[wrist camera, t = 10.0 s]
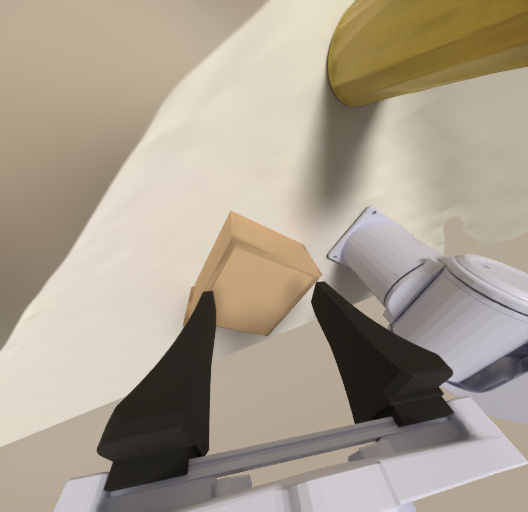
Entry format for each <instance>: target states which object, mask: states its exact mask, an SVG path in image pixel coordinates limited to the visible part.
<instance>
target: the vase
mask: <svg viewBox="0 0 528 512" xmlns="http://www.w3.org/2000/svg"><path fill="white" fill-rule="evenodd" d="M524 67H528V0H356V1H355V2H354V3H353V4H352V5H351V6H350V7H349V8H348V9H347V11H346V12H345V13H344V15H343V16H342V18H341V20H340V22H339V23H338V25H337V28H336V30H335V33H334V35H333V39H332V42H331V46H330V51H329V58H328V73H329V80H330V84H331V87H332V90H333V91H334V93H335V95H336V96H337V97H338V99H339V100H340V101H341V102H343V103H344V104H346V105H348V106H352V107H359V106H363V105H366V104H368V103H371V102H374V101H380V100H384V99H388V98H392V97H396V96H400V95H404V94H409V93H414V92H419V91H423V90H426V89H430V88H434V87H438V86H442V85H446V84H450V83H454V82H458V81H463V80H467V79H472V78H476V77H480V76H484V75H488V74H493V73H498V72H503V71H508V70H513V69H518V68H524Z"/></svg>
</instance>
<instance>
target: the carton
mask: <svg viewBox="0 0 528 512" xmlns="http://www.w3.org/2000/svg"><path fill="white" fill-rule="evenodd" d="M321 276H322V274H321V272H320V271H319V269H318V267H317V266H316V264H315V263H314V261H313V259H312V258H311V256H310V255H309V253H308V252H307V250H306V248H305V247H304V245H303V244H301V243H299V242H297V241H294V240H292V239H290V238H288V237H286V236H284V235H282V234H279V233H277V232H275V231H273V230H271V229H269V228H267V227H264V226H262V225H260V224H258V223H256V222H254V221H252V220H249V219H247V218H245V217H243V216H241V215H239V214H237V213H234V212H232V211H230V213H229V215H228V218H227V220H226V222H225V224H224V226H223V228H222V230H221V232H220V234H219V236H218V238H217V240H216V242H215V244H214V246H213V248H212V250H211V252H210V254H209V256H208V258H207V260H206V262H205V265H204V267H203V269H202V271H201V273H200V275H199V277H198V279H197V281H196V284H195V289H194V294H193V298H192V303H191V308H190V313H189V318H190V317H191V315H192V313H193V311H194V309H195V307H196V305H197V303H198V301H199V299H200V297H201V294H202V293H203V292H204V291H213V293H214V299H215V305H216V326H218V327H223V328H228V329H233V330H238V331H244V332H249V333H254V334H259V335H264V336H268V335H269V334H270V333H271V332H272V331H273V330H274V328H275V327H276V326H277V325H278V324H279V323H280V322H281V321H282V320H283V318H284V317H285V316H286V315H287V314H288V313H289V312H290V311H291V309H292V308H293V307H294V306H295V305H296V304H297V303H298V302H299V300H300V299H301V298H302V297H303V296H304V295H305V294H306V293H307V291H308V290H309V289H310V288H311V287H312V286H313V285H314V284H315V282H316V281H317V280H318V279H319V278H320V277H321ZM189 318H188V320H189Z"/></svg>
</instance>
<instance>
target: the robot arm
mask: <svg viewBox="0 0 528 512" xmlns="http://www.w3.org/2000/svg"><path fill="white" fill-rule="evenodd" d="M373 211H374V213H373ZM334 256H335V257H334ZM328 257H329V258H330V259H332V260H334V261H336V262H339V263H341V264H343V265H345V266H347V267H349V268H351V269H352V270H353V271H354V272H355V273H356V274H357V276H358V277H359V278H360V279H361V280H362V281H363V283H364V284H365V285H366V286H367V287H368V288H369V289H370V291H371V292H372V293H373V294H374V295H375V296H376V297H377V299H378V300H379V301H380V302H381V303H382V304H383V306H384V307H385V308H386V310H385V312H384V313H383V316H384V317H385V318H386V319H387V320H388V322H389V323H390V324H389V326H388V328H387V329H386V328H384V327H383V326H381V325H379V324H378V323H376V322H375V321H373V320H372V319H370V318H369V317H367V316H366V315H365V314H363V313H362V312H360V311H359V310H358V309H357V308H355V307H354V306H353V305H351V304H350V303H349V302H348V301H346V300H345V299H344V298H343V297H342V296H341V295H339V294H338V293H337V292H336V291H335V290H334V289H332V288H331V287H330V286H329V285H328V284H327V283H326V282H316V285H315V289H314V292H313V296H312V300H311V303H312V306H313V309H314V312H315V315H316V317H317V319H318V322H319V324H320V326H321V328H322V330H323V332H324V334H325V336H326V338H327V340H328V342H329V345H330V347H331V349H332V352H333V355H334V357H335V360H336V363H337V366H338V369H339V372H340V375H341V377H342V380H343V384H344V387H345V390H346V393H347V397H348V400H349V404H350V407H351V411H352V414H353V419H354V422H355V424H354V425H350V426H345V427H340V428H335V429H330V430H326V431H321V432H316V433H312V434H307V435H302V436H298V437H293V438H288V439H283V440H279V441H274V442H269V443H265V444H260V445H255V446H250V447H246V448H241V449H236V450H231V451H227V452H222V453H217V454H213V455H208V456H205V455H206V454H207V452H208V450H209V414H210V379H211V363H212V354H213V346H214V339H215V331H216V305H215V299H214V293H213V291H204V292H203V293H202V294H201V297H200V299H199V301H198V303H197V305H196V307H195V309H194V311H193V313H192V315H191V317H190V318H189V320H188V322H187V323H186V325H185V327H184V328H183V330H182V331H181V333H180V334H179V336H178V337H177V339H176V340H175V342H174V343H173V344H172V346H171V347H170V348H169V350H168V351H167V352H166V353H165V355H164V356H163V357H162V358H161V360H160V361H159V362H158V363H157V364H156V366H155V367H154V368H153V369H152V370H151V371H150V372H149V373H148V375H147V376H146V377H145V378H144V379H143V380H142V381H141V382H140V383H139V384H138V385H137V386H136V387H135V388H134V389H133V390H132V391H131V392H130V393H129V394H128V395H127V396H126V397H125V398H124V399H123V400H122V401H121V402H120V403H119V404H118V405H117V406H116V408H115V409H114V412H113V413H112V415H111V417H110V419H109V421H108V423H107V425H106V428H105V430H104V432H103V435H102V437H101V440H100V443H99V445H98V447H97V453H98V454H99V455H100V456H102V457H104V458H107V459H108V460H111V461H113V464H112V467H111V470H110V472H101V473H96V474H91V475H86V476H81V477H76V478H71V479H70V480H68V481H67V482H66V484H65V486H64V489H63V491H62V493H61V495H60V497H59V500H58V502H57V504H56V506H55V508H54V511H53V512H417V510H416V508H415V506H414V504H413V502H412V501H415V500H418V499H421V498H424V497H427V496H429V495H433V494H436V493H439V492H442V491H444V490H448V489H451V488H453V487H457V486H460V485H463V484H465V483H469V482H471V481H475V480H478V479H481V478H484V477H487V476H490V475H492V474H496V473H499V472H502V471H505V470H509V469H512V468H515V467H519V466H522V465H525V464H528V462H527V460H526V459H525V458H524V457H523V456H522V454H521V453H520V452H518V450H517V449H516V448H515V447H514V446H513V444H512V443H511V442H510V441H509V440H508V439H507V438H506V437H505V435H504V434H503V433H502V432H501V431H500V430H499V429H498V428H497V427H496V425H495V424H494V423H493V422H492V421H491V420H490V419H489V418H488V416H487V415H490V416H494V417H498V418H501V419H506V420H509V421H514V422H518V423H522V424H526V425H528V274H527V273H525V272H523V271H520V270H518V269H516V268H513V267H511V266H508V265H506V264H503V263H501V262H498V261H495V260H492V259H489V258H486V257H482V256H478V255H473V254H464V255H453V256H451V257H450V258H448V257H446V256H445V255H443V254H441V253H440V252H438V251H436V250H435V249H433V248H431V247H430V246H428V245H426V244H425V243H423V242H421V241H420V240H418V239H416V238H415V237H414V235H413V234H411V233H410V232H408V231H407V230H406V229H404V228H403V227H401V226H400V225H399V224H397V223H396V222H394V221H393V220H392V219H390V218H389V217H387V216H386V215H385V214H383V213H382V212H380V211H379V210H378V209H376V208H375V207H373V206H370V207H368V208H367V209H366V210H365V211H364V212H363V214H362V215H361V216H360V217H359V218H358V220H357V221H356V222H355V223H354V224H353V225H352V227H351V228H350V229H349V230H348V231H347V232H346V234H345V235H344V236H343V237H342V238H341V239H340V241H339V242H338V243H337V244H336V245H335V247H334V248H333V249H332V250H331V251H330V252H329V254H328ZM439 386H441V387H443V388H445V389H447V390H448V391H450V392H451V393H453V394H454V395H456V396H457V397H458V398H457V399H452V400H449V401H445V400H444V399H443V398H442V395H443V394H444V393H443V392H442V390H441V389H440V388H439ZM373 441H376V442H375V443H373V444H370V445H367V446H364V447H361V448H360V449H359V451H357V452H356V453H354V454H352V455H351V456H349V457H348V460H349V462H347V463H343V464H338V465H334V466H329V467H326V468H321V469H318V470H313V471H310V472H306V473H302V474H299V475H295V476H291V477H288V478H284V479H281V480H277V481H274V482H270V483H267V484H263V485H260V486H256V487H253V488H252V482H251V480H250V476H249V475H240V476H232V477H226V478H222V479H219V480H217V479H216V478H218V477H222V476H226V475H230V474H235V473H239V472H244V471H248V470H252V469H257V468H261V467H265V466H270V465H274V464H278V463H283V462H287V461H291V460H295V459H300V458H304V457H308V456H313V455H317V454H321V453H326V452H330V451H335V450H338V449H343V448H348V447H352V446H356V445H361V444H365V443H369V442H373Z"/></svg>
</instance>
